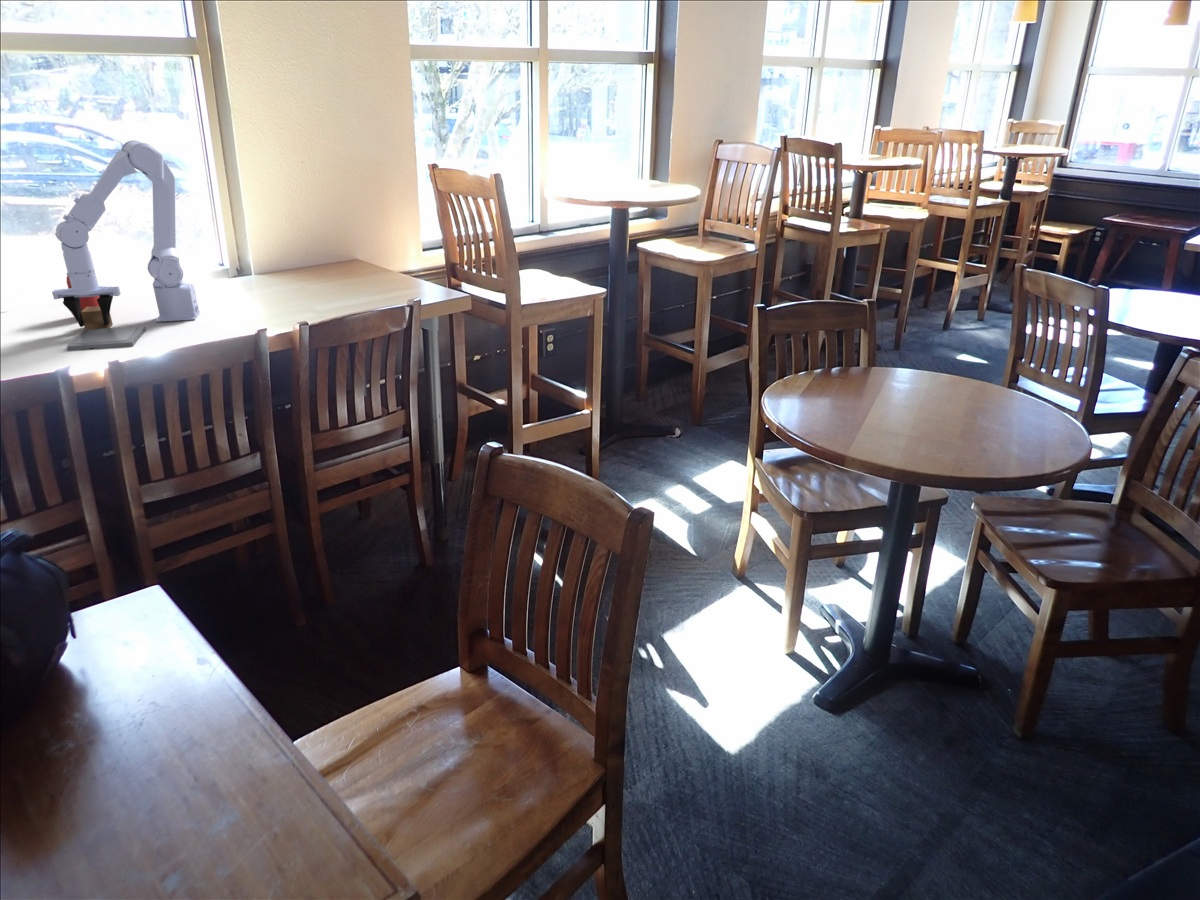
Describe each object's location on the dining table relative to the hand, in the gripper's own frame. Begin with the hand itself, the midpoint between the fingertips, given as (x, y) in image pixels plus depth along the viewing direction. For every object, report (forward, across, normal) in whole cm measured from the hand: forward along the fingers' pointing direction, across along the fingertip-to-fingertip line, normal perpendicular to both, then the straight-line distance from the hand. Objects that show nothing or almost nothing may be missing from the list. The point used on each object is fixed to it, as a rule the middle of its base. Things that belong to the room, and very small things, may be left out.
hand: (95, 325), depth 211 cm
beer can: (+2, +5, -14) cm, 15 cm away
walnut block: (+2, 0, -3) cm, 3 cm away
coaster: (+1, -5, +9) cm, 10 cm away
